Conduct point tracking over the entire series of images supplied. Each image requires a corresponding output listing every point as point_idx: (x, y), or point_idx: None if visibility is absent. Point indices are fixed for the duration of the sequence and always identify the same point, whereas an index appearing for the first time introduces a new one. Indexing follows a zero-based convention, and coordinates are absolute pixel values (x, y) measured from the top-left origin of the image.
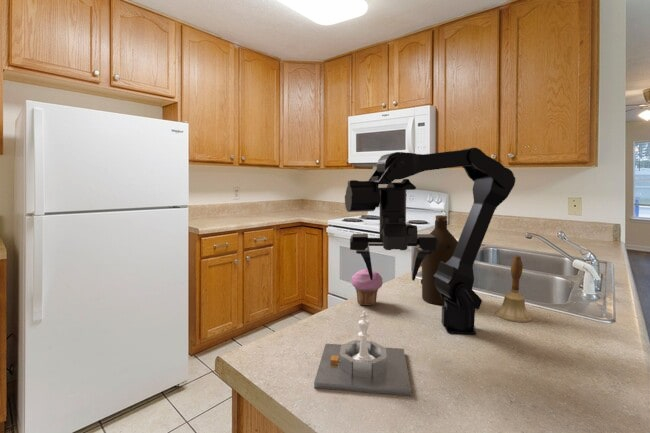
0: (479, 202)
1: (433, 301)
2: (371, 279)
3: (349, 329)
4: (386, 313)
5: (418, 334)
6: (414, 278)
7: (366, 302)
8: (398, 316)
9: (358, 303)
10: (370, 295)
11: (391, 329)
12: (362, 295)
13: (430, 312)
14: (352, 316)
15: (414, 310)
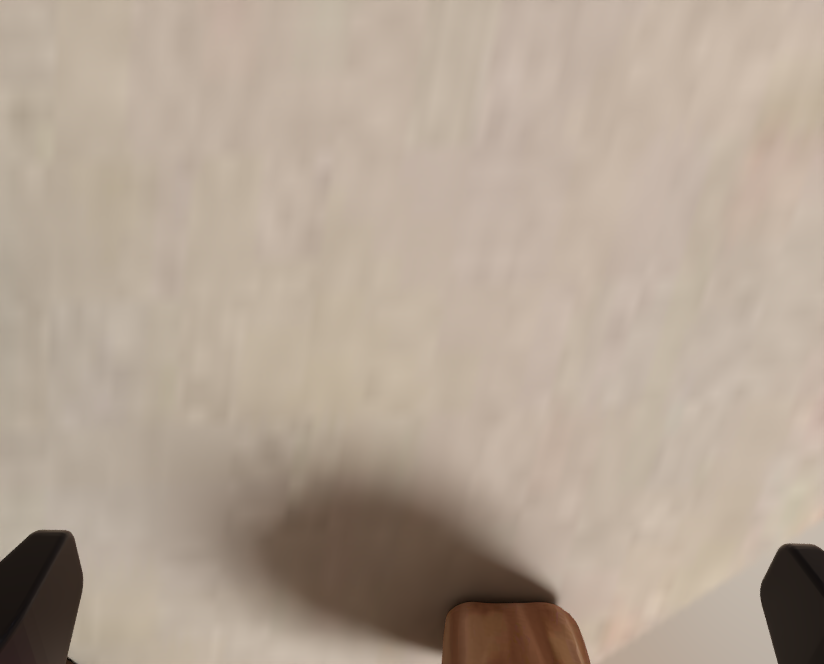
0: None
1: None
2: (805, 544)
3: (739, 245)
4: (386, 504)
5: (169, 180)
6: (18, 554)
7: (517, 615)
8: (302, 466)
9: (569, 614)
10: (498, 662)
11: (389, 259)
12: (560, 660)
13: None
14: (653, 451)
15: (172, 555)
